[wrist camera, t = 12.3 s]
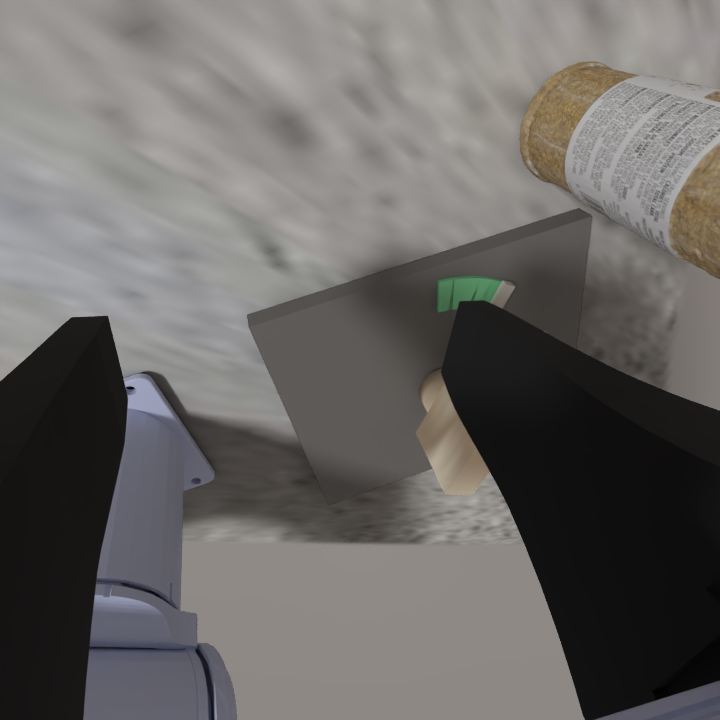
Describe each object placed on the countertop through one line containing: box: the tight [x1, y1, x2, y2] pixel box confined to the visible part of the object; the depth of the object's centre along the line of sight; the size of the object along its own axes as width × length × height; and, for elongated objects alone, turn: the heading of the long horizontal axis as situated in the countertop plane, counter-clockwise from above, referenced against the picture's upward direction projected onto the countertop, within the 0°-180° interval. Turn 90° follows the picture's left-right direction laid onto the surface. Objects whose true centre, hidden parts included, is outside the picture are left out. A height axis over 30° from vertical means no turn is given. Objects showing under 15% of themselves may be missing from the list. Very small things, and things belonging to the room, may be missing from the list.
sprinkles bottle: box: [520, 62, 720, 279], centre depth 15 cm, size 5×5×13 cm
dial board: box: [247, 208, 592, 505], centre depth 26 cm, size 16×14×1 cm
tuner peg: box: [416, 280, 515, 495], centre depth 23 cm, size 9×3×5 cm, turn 157°
